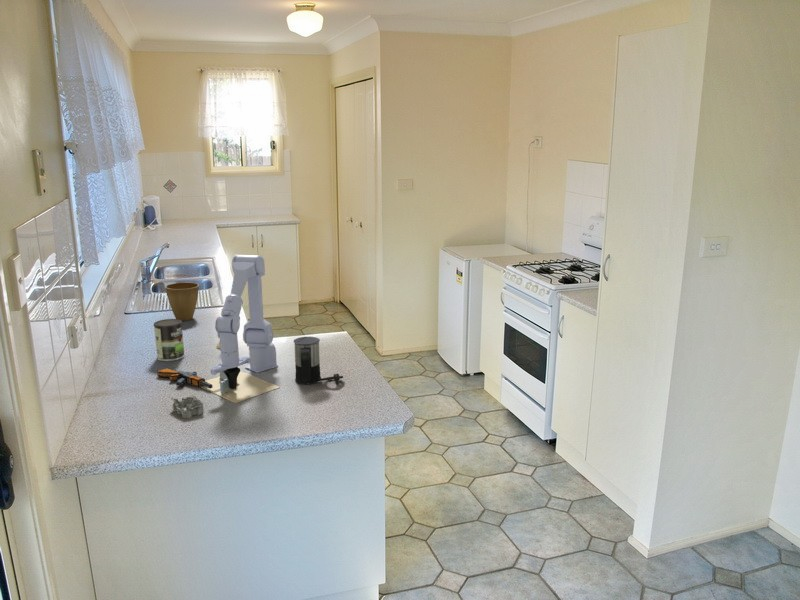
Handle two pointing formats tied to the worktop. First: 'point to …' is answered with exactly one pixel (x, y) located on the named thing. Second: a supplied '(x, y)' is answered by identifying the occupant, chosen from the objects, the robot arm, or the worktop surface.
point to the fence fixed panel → (223, 375)
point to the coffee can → (169, 339)
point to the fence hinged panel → (225, 386)
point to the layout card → (241, 387)
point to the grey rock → (188, 406)
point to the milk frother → (309, 361)
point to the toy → (183, 377)
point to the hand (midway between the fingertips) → (232, 388)
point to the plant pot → (183, 299)
